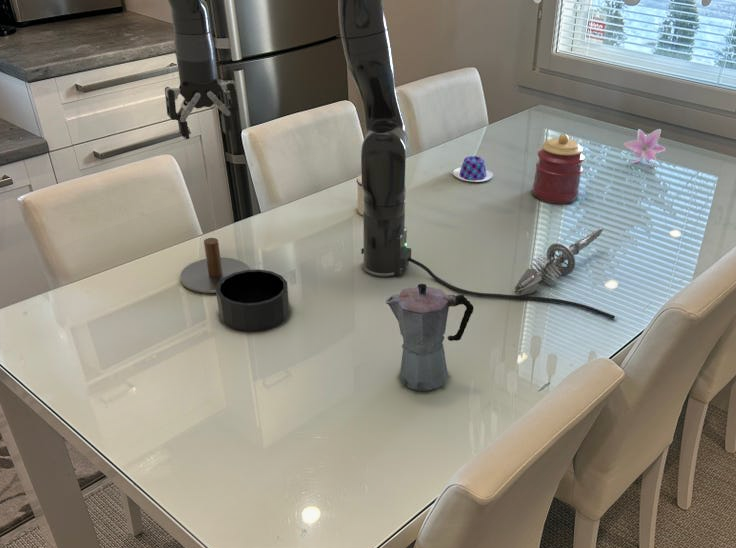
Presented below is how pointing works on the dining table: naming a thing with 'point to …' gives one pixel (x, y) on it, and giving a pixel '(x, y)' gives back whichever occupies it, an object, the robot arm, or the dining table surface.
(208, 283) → the lid
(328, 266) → the dining table surface
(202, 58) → the robot arm
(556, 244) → the spaceship
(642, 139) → the lily
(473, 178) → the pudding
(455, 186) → the dining table surface
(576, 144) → the kitchen canister
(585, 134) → the dining table surface
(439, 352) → the moka pot
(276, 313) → the pan
